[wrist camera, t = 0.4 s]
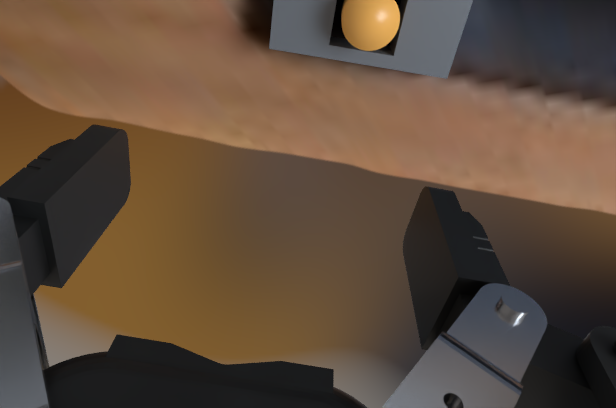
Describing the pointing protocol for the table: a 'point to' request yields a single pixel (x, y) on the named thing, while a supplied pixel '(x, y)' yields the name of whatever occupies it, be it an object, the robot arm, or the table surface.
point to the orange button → (370, 22)
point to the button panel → (398, 56)
